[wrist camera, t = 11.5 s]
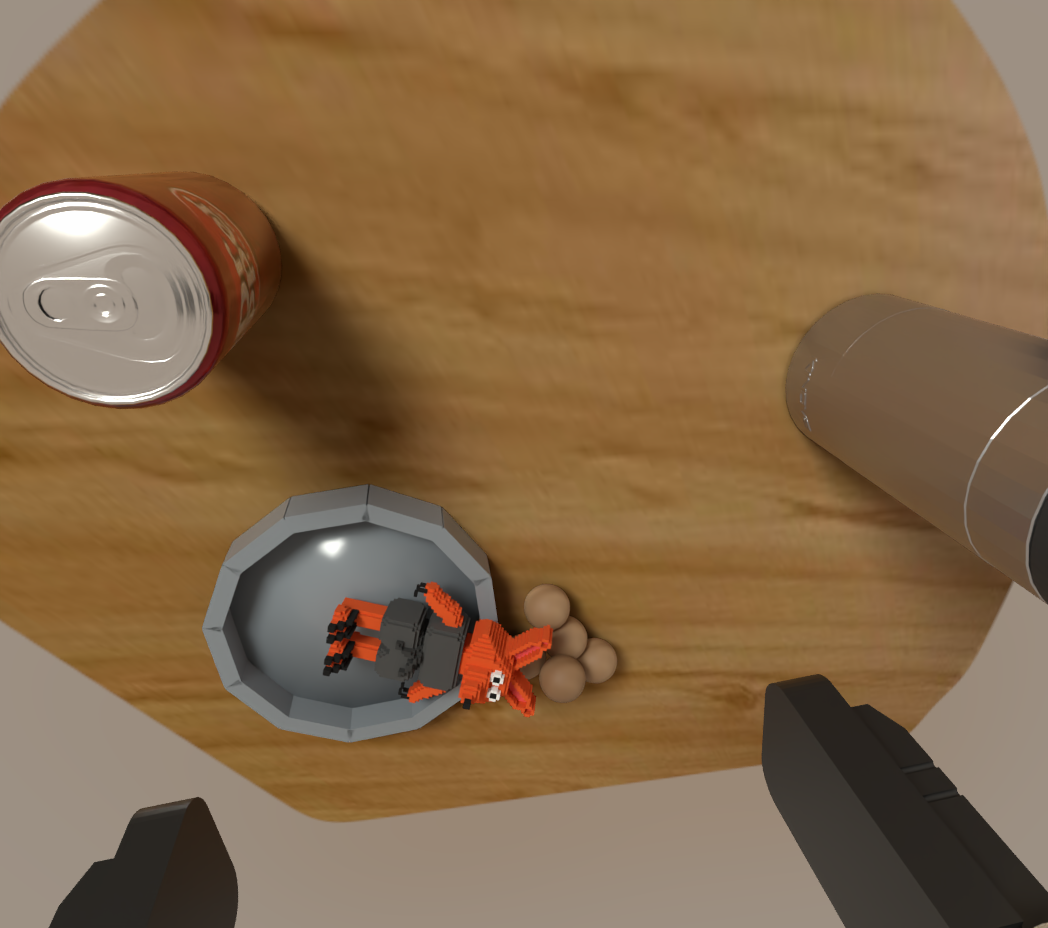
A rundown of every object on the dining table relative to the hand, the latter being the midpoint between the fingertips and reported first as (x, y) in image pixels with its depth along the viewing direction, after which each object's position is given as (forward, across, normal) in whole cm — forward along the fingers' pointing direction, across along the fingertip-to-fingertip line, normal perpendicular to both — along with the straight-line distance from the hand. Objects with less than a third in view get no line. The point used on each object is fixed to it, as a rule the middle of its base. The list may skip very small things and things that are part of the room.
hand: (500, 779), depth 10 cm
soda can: (+28, +10, -5) cm, 30 cm away
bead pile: (+28, -5, +20) cm, 35 cm away
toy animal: (+25, +9, +16) cm, 31 cm away
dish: (+28, +7, +16) cm, 33 cm away
